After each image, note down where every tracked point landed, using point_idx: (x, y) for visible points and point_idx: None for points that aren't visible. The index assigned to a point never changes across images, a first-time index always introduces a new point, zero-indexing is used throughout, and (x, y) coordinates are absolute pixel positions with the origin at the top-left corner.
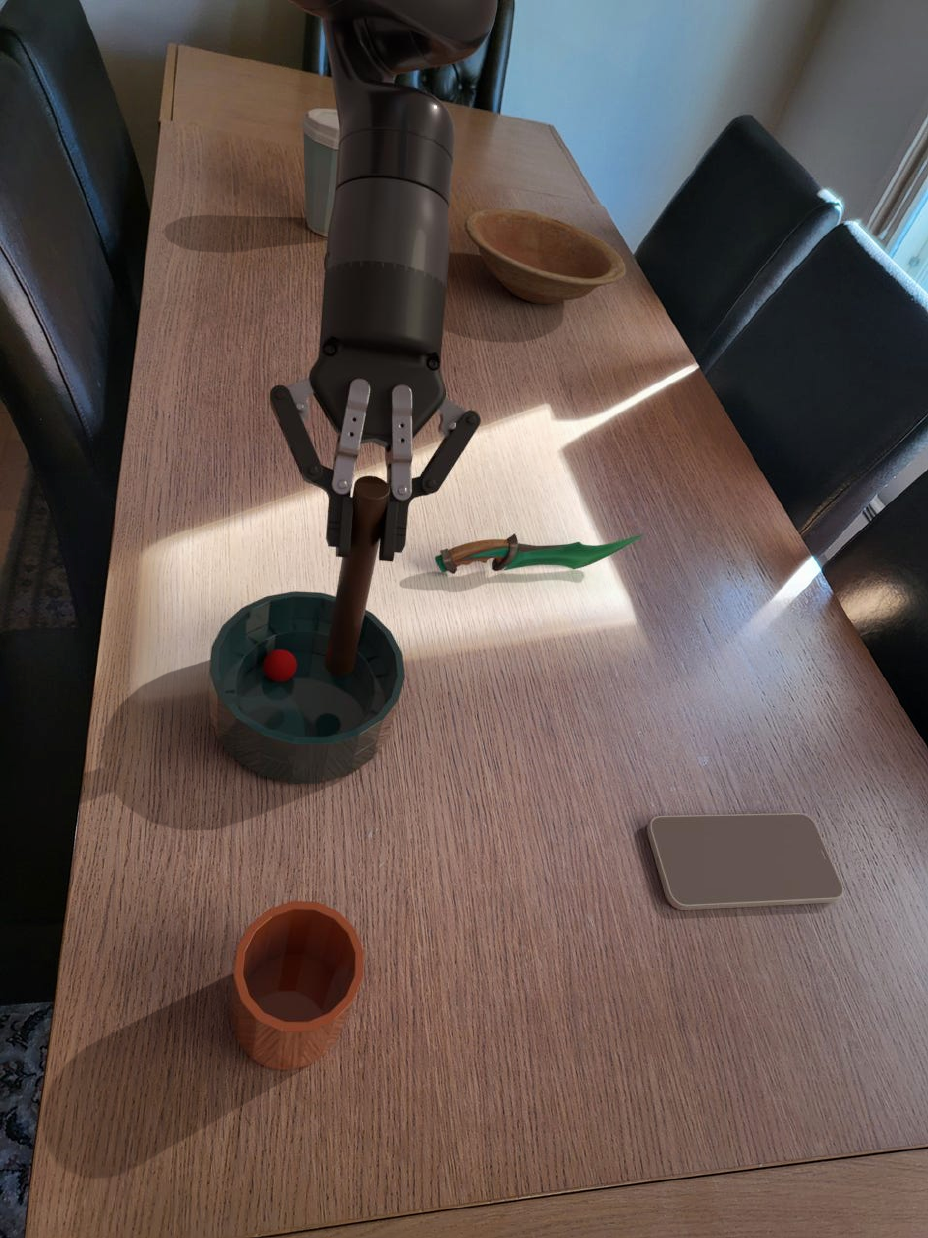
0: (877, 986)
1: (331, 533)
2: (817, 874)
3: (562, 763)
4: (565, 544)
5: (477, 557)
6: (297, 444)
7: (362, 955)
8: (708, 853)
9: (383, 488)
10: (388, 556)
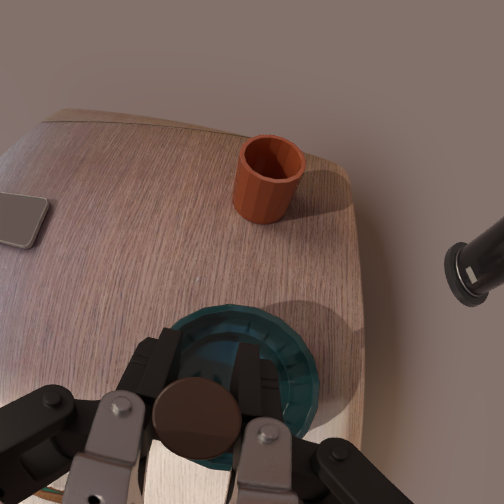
0: (5, 163)
1: (271, 374)
2: None
3: (52, 301)
4: None
5: (55, 490)
6: (386, 492)
7: (240, 152)
8: (16, 220)
9: (168, 413)
10: (173, 330)
